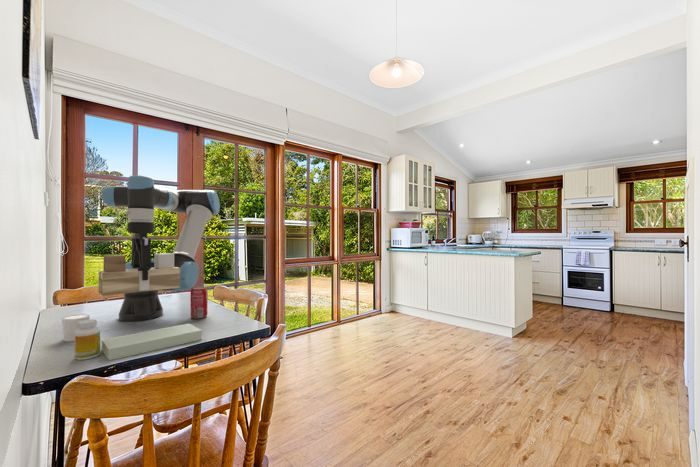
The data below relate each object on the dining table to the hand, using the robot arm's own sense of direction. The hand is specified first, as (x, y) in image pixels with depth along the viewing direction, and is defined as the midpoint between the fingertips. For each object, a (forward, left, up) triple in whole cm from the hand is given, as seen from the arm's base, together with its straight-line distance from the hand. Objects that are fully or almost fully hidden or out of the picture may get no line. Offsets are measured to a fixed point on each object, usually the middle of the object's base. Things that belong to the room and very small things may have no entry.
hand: (140, 288), depth 109 cm
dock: (+16, 0, -15) cm, 22 cm away
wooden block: (0, 0, -1) cm, 1 cm away
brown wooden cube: (0, -7, +6) cm, 10 cm away
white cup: (-8, -16, -15) cm, 24 cm away
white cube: (0, +7, +7) cm, 10 cm away
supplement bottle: (+14, -16, -15) cm, 26 cm away
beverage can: (-7, +22, -15) cm, 28 cm away
